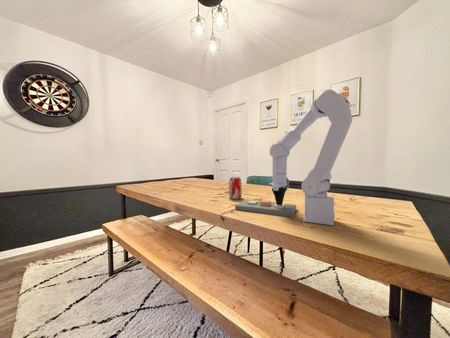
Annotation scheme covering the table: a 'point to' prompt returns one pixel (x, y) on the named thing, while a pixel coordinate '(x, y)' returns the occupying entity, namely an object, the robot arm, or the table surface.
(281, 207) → the cream key
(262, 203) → the terracotta key
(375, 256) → the table surface
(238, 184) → the soda can
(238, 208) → the key board
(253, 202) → the sage key
